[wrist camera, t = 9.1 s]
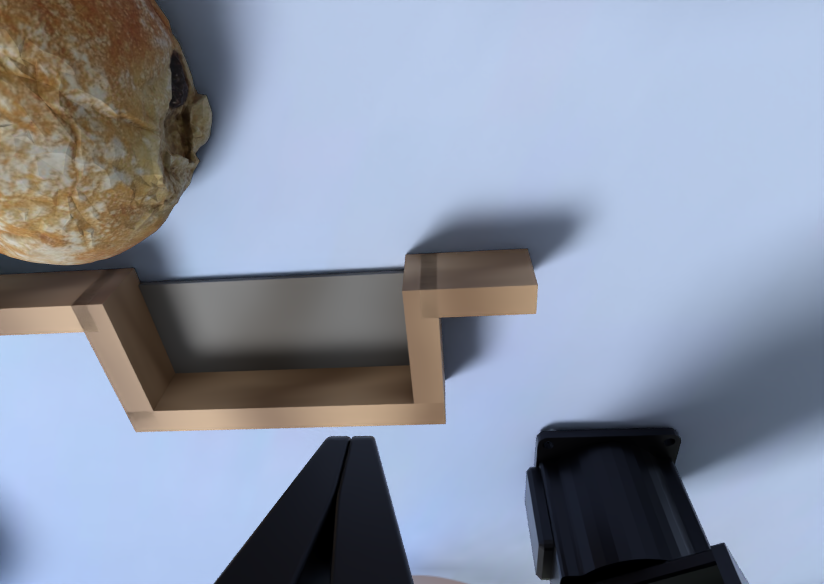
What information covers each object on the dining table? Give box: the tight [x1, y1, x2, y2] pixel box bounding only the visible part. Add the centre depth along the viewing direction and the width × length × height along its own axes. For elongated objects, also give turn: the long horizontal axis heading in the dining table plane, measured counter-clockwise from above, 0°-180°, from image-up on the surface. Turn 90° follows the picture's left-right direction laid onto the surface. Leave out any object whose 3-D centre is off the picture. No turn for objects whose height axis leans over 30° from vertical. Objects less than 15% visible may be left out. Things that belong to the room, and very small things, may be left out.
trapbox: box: [0, 249, 538, 432], centre depth 16 cm, size 23×27×4 cm
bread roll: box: [0, 0, 212, 265], centre depth 16 cm, size 10×10×8 cm
